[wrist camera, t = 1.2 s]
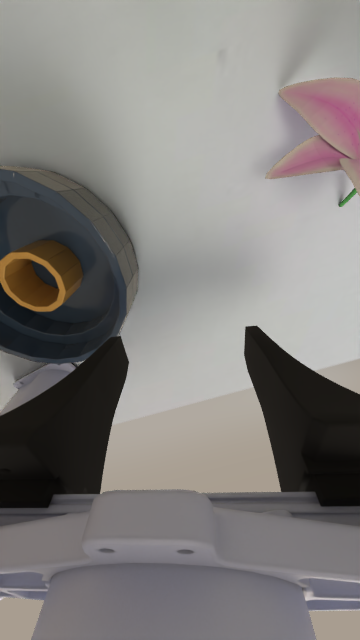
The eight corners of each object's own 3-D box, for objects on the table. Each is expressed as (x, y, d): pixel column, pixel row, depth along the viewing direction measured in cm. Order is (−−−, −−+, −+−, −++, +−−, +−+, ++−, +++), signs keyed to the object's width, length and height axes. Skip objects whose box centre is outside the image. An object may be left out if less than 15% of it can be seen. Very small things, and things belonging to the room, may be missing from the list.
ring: (57, 301, 22) (36, 321, 19) (14, 258, 20) (-16, 273, 17) (93, 277, 21) (77, 294, 18) (52, 228, 19) (25, 238, 16)
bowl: (86, 353, 27) (68, 386, 23) (-52, 268, 21) (-111, 290, 17) (172, 264, 20) (168, 287, 16) (6, 111, 15) (-65, 87, 11)
